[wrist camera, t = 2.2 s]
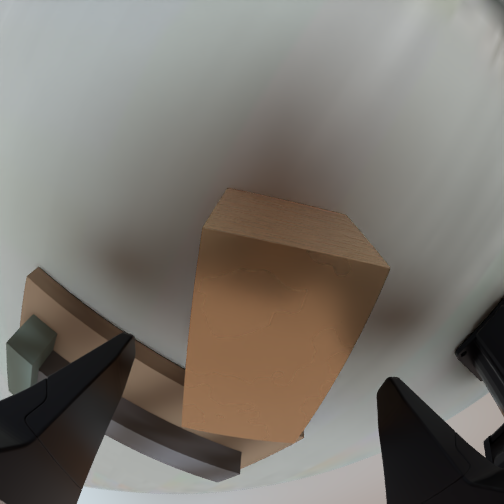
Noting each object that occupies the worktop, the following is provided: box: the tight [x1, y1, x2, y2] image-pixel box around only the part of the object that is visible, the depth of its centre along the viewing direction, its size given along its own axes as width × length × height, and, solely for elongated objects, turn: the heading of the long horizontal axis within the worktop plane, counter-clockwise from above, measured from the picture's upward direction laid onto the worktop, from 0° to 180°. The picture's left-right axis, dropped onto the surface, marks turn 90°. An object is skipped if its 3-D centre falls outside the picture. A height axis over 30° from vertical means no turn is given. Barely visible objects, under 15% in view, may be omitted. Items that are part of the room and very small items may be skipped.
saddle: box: [181, 188, 390, 443], centre depth 11 cm, size 5×9×5 cm, turn 168°
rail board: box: [6, 267, 304, 482], centre depth 16 cm, size 20×12×4 cm, turn 53°
